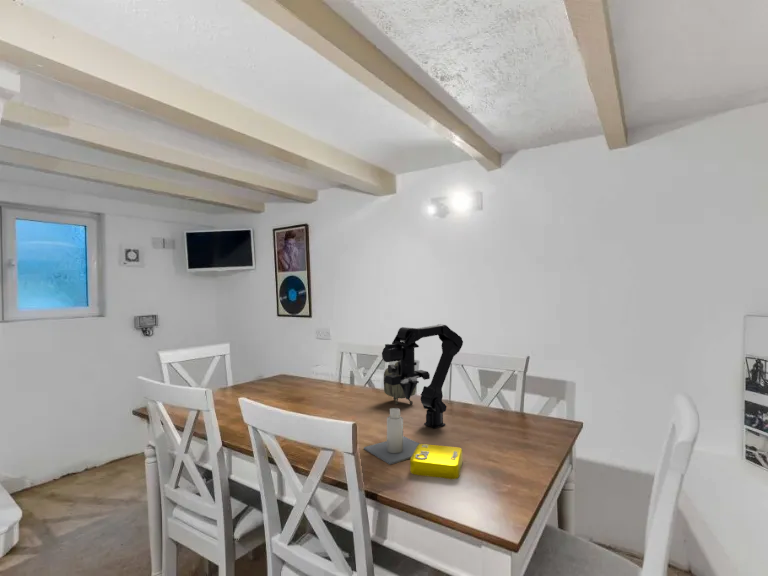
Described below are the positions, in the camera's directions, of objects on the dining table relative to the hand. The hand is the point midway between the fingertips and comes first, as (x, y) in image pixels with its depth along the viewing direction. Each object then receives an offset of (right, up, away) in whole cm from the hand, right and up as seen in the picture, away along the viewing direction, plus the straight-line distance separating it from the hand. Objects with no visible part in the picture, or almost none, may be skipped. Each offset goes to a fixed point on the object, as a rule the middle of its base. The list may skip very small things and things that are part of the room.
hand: (407, 399), depth 159 cm
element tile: (+7, -13, -31) cm, 35 cm away
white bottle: (-6, -12, -20) cm, 24 cm away
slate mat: (-5, -13, -18) cm, 23 cm away
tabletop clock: (-2, -13, +40) cm, 42 cm away
